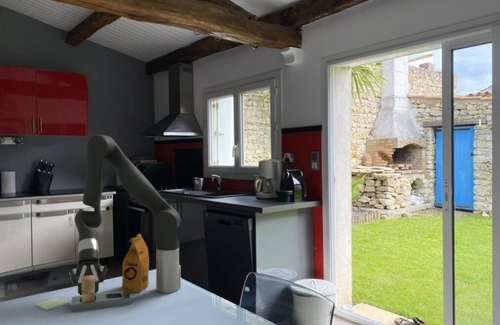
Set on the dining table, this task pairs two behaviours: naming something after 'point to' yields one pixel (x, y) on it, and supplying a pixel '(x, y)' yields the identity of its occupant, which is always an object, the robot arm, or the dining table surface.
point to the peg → (88, 288)
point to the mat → (52, 304)
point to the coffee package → (136, 266)
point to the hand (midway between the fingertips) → (88, 293)
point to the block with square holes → (101, 301)
